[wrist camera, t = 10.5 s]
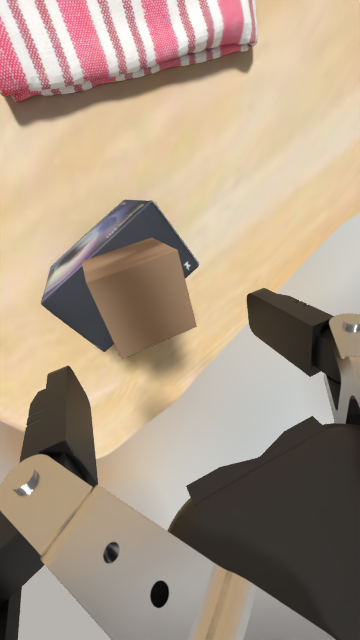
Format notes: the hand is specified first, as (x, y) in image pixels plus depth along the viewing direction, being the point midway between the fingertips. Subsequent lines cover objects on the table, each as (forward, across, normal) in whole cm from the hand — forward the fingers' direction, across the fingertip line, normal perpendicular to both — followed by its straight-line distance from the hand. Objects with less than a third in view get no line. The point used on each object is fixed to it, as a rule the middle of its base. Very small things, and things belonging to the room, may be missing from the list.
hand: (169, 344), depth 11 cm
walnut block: (+9, 0, 0) cm, 9 cm away
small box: (+20, 0, 0) cm, 20 cm away
